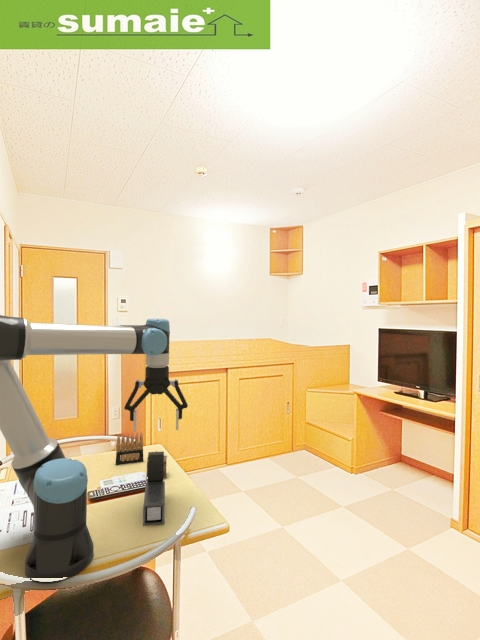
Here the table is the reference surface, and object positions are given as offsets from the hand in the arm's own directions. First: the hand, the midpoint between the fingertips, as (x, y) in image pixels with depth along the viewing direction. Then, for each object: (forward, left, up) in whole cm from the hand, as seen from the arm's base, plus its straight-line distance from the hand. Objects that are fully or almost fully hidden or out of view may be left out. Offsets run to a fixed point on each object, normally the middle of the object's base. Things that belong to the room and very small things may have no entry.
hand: (156, 429), depth 122 cm
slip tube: (-5, 0, -22) cm, 22 cm away
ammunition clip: (+29, +11, -23) cm, 39 cm away
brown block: (+16, 0, -23) cm, 27 cm away
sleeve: (-9, 0, -23) cm, 24 cm away
